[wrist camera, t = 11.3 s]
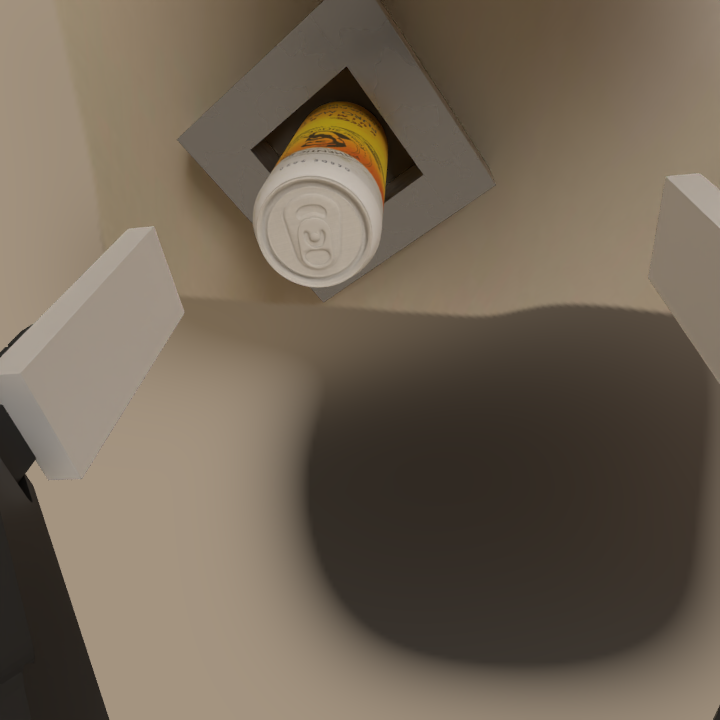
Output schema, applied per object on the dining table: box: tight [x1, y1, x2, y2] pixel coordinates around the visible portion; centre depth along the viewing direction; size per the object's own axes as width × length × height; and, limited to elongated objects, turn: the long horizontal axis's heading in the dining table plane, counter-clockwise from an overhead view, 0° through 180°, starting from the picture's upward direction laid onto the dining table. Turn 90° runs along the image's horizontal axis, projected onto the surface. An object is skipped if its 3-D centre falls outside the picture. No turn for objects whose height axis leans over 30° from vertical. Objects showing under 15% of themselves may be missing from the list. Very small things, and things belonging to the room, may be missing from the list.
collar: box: [177, 0, 496, 302], centre depth 37 cm, size 14×14×4 cm
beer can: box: [253, 101, 388, 288], centre depth 33 cm, size 6×6×15 cm
